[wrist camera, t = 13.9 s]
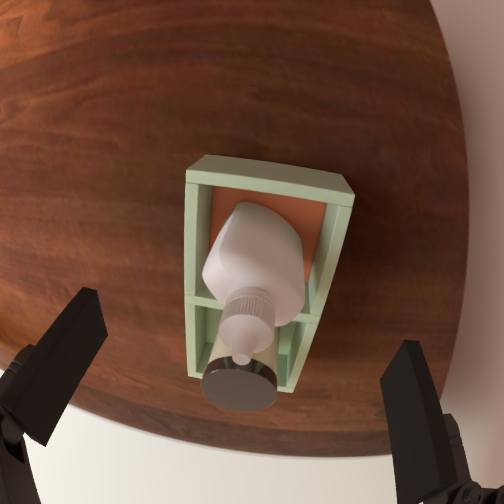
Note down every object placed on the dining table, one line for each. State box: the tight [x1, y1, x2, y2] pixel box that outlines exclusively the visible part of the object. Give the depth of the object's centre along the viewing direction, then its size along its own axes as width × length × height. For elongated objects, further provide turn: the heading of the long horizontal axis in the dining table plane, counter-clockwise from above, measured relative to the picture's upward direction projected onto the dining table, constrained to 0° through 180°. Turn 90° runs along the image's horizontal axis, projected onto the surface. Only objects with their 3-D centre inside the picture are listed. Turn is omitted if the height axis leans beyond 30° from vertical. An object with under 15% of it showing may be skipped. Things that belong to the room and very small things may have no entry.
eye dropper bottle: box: [202, 201, 305, 365], centre depth 17 cm, size 4×6×12 cm
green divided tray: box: [184, 154, 355, 393], centre depth 23 cm, size 18×10×5 cm, turn 173°
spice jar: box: [200, 312, 280, 412], centre depth 23 cm, size 5×5×8 cm
